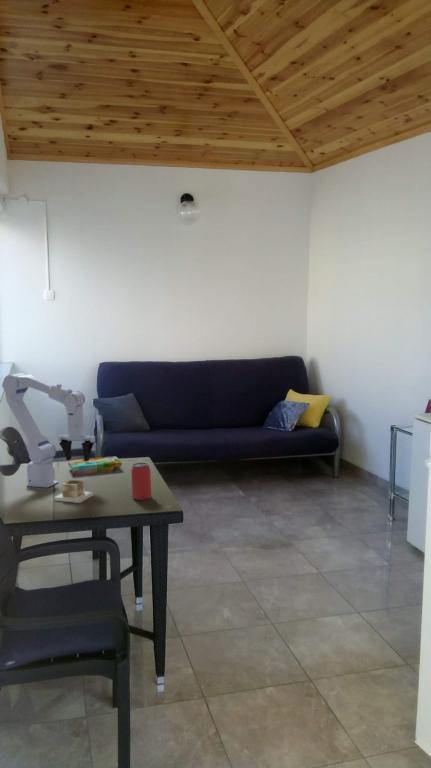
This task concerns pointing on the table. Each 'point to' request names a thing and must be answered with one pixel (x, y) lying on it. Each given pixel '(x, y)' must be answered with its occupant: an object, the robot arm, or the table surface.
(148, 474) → the beer can
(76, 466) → the puzzle game
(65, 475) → the table surface
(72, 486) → the collar
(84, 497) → the pin block
